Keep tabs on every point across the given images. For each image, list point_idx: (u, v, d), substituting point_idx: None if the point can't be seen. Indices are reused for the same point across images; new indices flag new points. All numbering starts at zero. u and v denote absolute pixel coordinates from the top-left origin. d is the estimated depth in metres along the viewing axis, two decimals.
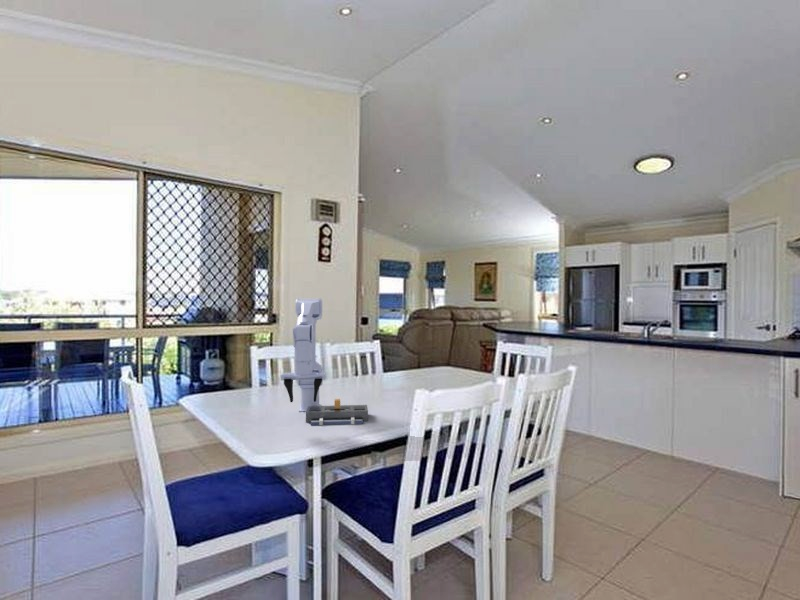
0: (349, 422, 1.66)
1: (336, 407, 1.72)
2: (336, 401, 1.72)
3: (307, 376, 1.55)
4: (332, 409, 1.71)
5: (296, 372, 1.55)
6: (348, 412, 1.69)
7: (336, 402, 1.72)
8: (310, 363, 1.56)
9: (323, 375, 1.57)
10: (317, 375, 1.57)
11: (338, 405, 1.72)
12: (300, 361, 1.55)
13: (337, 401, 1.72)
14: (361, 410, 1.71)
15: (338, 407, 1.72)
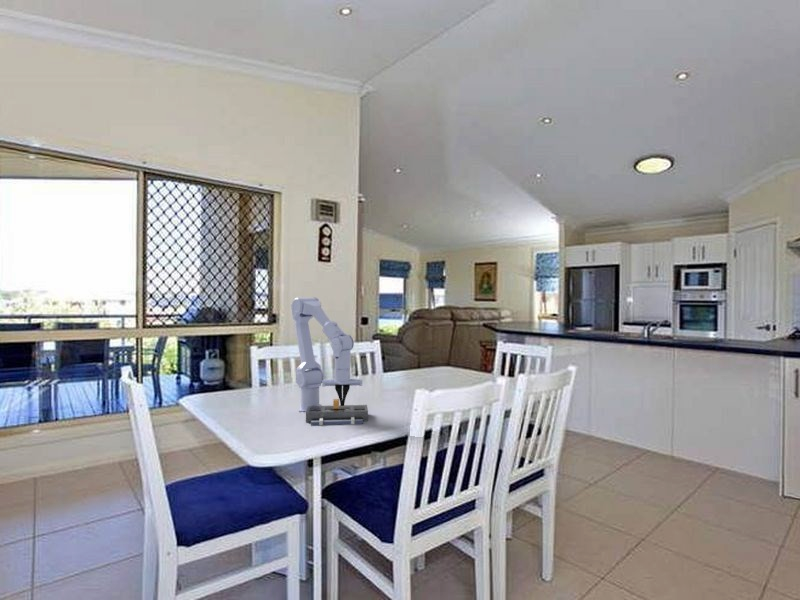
0: (349, 422, 1.66)
1: (335, 407, 1.72)
2: (335, 401, 1.72)
3: (346, 382, 1.71)
4: (332, 409, 1.71)
5: (336, 379, 1.71)
6: (348, 412, 1.69)
7: (335, 402, 1.72)
8: (349, 370, 1.72)
9: (360, 381, 1.73)
10: (355, 381, 1.72)
11: (337, 405, 1.72)
12: (346, 369, 1.71)
13: (336, 401, 1.72)
14: (361, 410, 1.71)
15: (337, 407, 1.72)
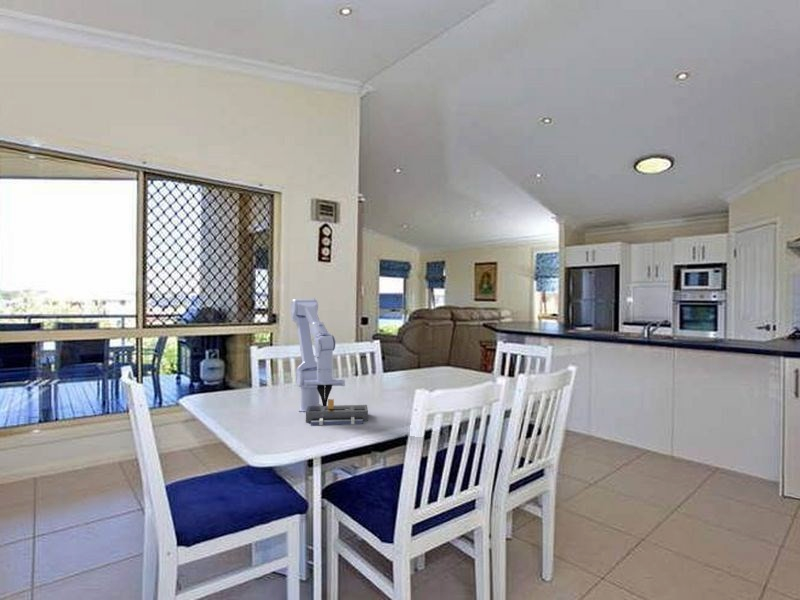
0: (349, 422, 1.66)
1: (329, 407, 1.72)
2: (329, 401, 1.72)
3: (328, 383, 1.70)
4: (332, 409, 1.71)
5: (318, 379, 1.70)
6: (348, 412, 1.69)
7: (329, 402, 1.72)
8: (331, 371, 1.71)
9: (343, 382, 1.72)
10: (337, 382, 1.71)
11: (331, 405, 1.72)
12: (325, 369, 1.69)
13: (330, 401, 1.72)
14: (361, 410, 1.71)
15: (331, 407, 1.72)
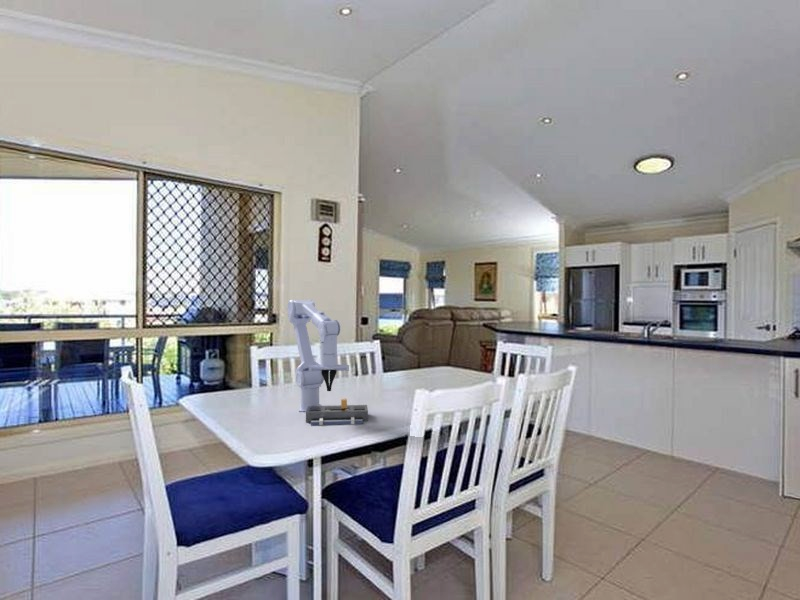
0: (349, 422, 1.66)
1: (343, 407, 1.72)
2: (343, 401, 1.72)
3: (333, 367, 1.70)
4: (332, 409, 1.71)
5: (323, 364, 1.70)
6: (348, 412, 1.69)
7: (343, 402, 1.72)
8: (335, 356, 1.71)
9: (347, 367, 1.72)
10: (342, 367, 1.71)
11: (345, 405, 1.72)
12: (331, 354, 1.70)
13: (344, 401, 1.72)
14: (361, 410, 1.71)
15: (345, 407, 1.72)
